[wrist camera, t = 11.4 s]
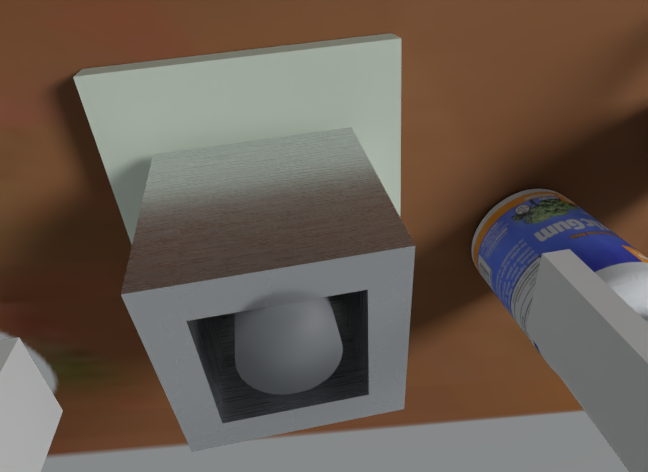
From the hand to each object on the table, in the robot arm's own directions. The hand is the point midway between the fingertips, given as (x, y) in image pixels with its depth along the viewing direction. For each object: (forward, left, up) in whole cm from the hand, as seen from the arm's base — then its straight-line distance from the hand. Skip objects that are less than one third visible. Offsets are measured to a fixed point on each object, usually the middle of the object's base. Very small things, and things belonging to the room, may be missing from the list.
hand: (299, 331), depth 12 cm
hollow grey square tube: (+1, 0, -7) cm, 7 cm away
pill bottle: (+4, +12, -9) cm, 15 cm away
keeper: (0, 0, -9) cm, 9 cm away
